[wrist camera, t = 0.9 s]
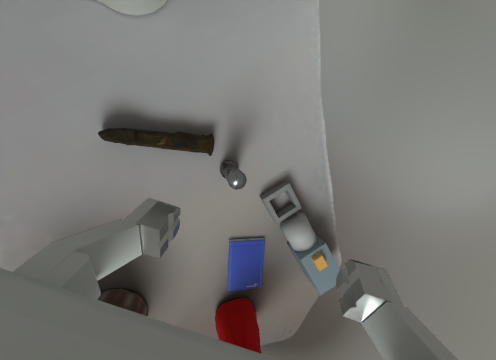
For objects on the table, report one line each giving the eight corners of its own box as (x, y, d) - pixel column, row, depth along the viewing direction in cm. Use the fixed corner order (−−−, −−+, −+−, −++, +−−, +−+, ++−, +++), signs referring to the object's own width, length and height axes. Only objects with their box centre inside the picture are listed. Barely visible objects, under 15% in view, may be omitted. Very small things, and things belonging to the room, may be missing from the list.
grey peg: (216, 166, 40) (221, 176, 30) (231, 157, 41) (241, 164, 30) (225, 181, 41) (233, 196, 31) (240, 172, 42) (253, 183, 31)
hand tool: (214, 135, 39) (215, 134, 35) (212, 155, 40) (213, 157, 36) (105, 117, 35) (91, 114, 30) (104, 140, 35) (90, 140, 31)
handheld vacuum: (259, 196, 44) (271, 209, 36) (284, 180, 44) (302, 190, 36) (304, 274, 51) (323, 299, 43) (326, 260, 51) (348, 282, 43)
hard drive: (261, 287, 48) (265, 239, 45) (227, 291, 46) (229, 241, 43) (259, 283, 49) (263, 236, 47) (226, 286, 47) (228, 238, 45)
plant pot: (99, 356, 43) (42, 477, 28) (53, 303, 39) (-45, 411, 24) (170, 321, 45) (154, 416, 30) (134, 266, 41) (93, 343, 26)
